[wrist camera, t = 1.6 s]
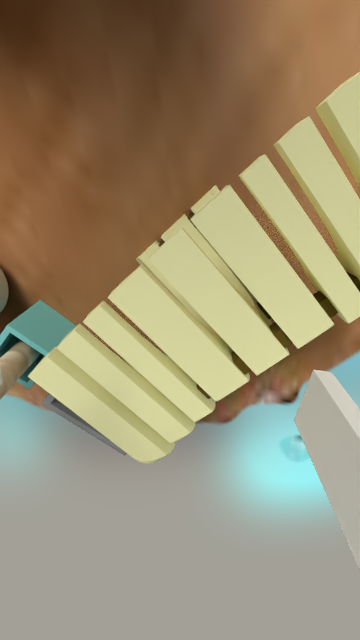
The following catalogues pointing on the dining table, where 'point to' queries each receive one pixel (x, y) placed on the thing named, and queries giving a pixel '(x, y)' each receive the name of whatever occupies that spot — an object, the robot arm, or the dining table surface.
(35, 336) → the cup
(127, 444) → the slatted curved stool
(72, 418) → the tray
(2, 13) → the dining table surface
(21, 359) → the dowel
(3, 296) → the teacup
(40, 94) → the dining table surface
